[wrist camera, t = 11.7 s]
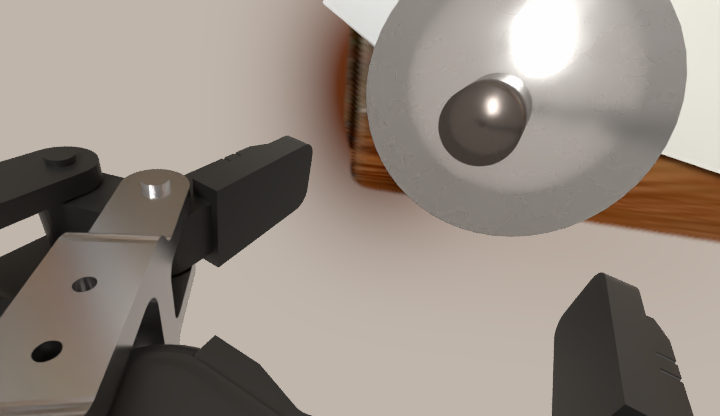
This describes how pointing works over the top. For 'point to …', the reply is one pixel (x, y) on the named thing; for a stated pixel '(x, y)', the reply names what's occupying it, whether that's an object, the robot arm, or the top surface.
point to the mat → (699, 86)
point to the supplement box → (363, 15)
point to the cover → (524, 106)
